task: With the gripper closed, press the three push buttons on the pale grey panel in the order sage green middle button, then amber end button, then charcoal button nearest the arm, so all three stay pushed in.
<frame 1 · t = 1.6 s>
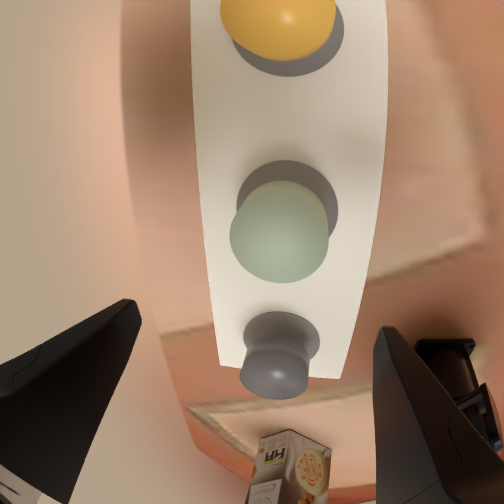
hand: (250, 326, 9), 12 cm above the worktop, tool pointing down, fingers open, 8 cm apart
button sage: (281, 230, 14), point 6 cm above the worktop, slide at 0.0 cm
button charcoal: (276, 367, 19), point 6 cm above the worktop, slide at 0.0 cm
button panel: (291, 193, 19), on the worktop
coffee box: (297, 444, 36), on the worktop
button amber: (280, 13, 9), point 6 cm above the worktop, slide at 0.0 cm
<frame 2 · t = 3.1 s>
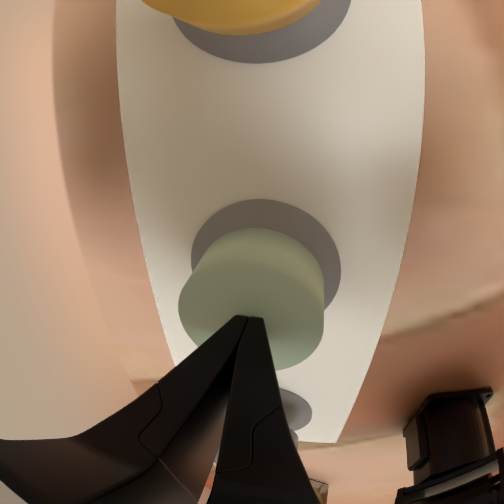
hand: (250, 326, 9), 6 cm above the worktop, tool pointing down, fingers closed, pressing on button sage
button sage: (255, 300, 10), point 5 cm above the worktop, slide at 0.9 cm, touching gripper
button charcoal: (256, 447, 14), point 6 cm above the worktop, slide at 0.0 cm
button panel: (274, 234, 14), on the worktop
coffee box: (291, 479, 31), on the worktop
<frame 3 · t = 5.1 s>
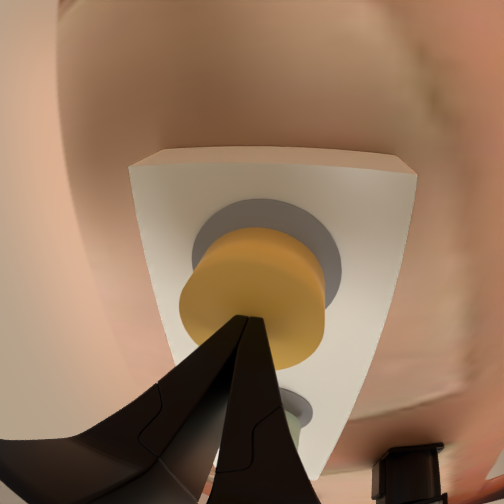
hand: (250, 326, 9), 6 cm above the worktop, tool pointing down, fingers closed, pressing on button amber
button sage: (260, 434, 15), point 5 cm above the worktop, slide at 0.9 cm
button panel: (273, 372, 19), on the worktop
button amber: (256, 300, 10), point 5 cm above the worktop, slide at 0.8 cm, touching gripper
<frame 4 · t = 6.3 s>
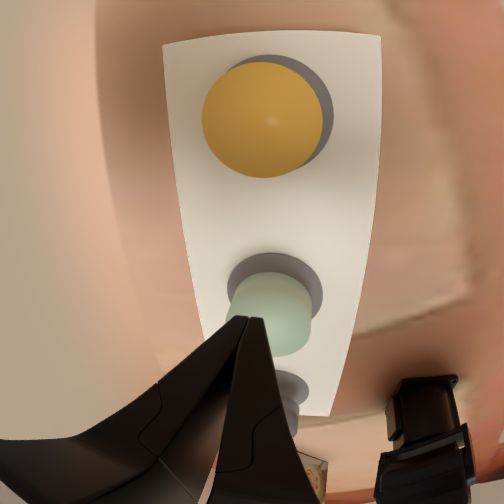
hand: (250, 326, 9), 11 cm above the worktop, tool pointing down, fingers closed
button sage: (270, 314, 16), point 5 cm above the worktop, slide at 0.9 cm
button charcoal: (269, 416, 21), point 6 cm above the worktop, slide at 0.0 cm
button panel: (280, 266, 20), on the worktop
coffee box: (295, 458, 38), on the worktop
button amber: (265, 117, 11), point 5 cm above the worktop, slide at 0.9 cm
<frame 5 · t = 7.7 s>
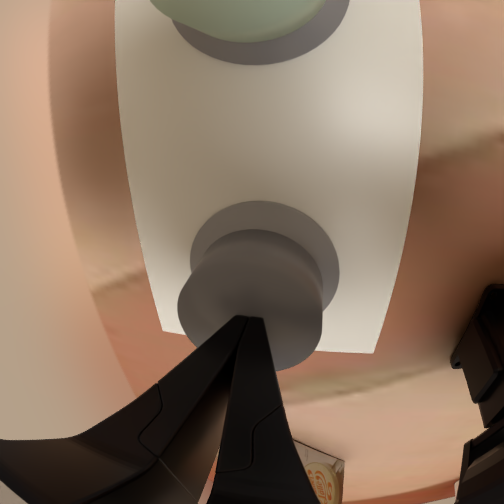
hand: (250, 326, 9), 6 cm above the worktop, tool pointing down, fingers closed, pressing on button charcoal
button charcoal: (254, 301, 10), point 5 cm above the worktop, slide at 0.9 cm, touching gripper
button panel: (269, 9, 9), on the worktop
coffee box: (297, 455, 26), on the worktop
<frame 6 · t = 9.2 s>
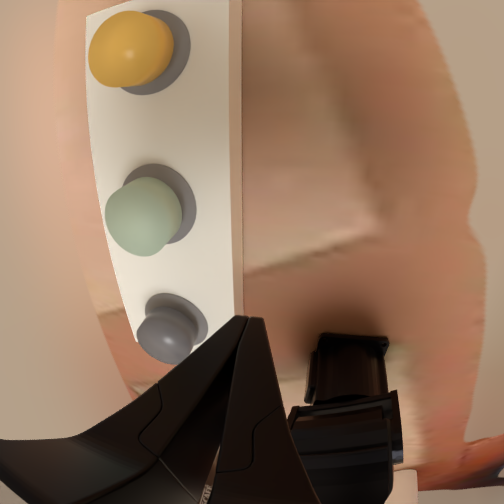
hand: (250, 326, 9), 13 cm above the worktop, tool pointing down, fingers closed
button sage: (144, 215, 18), point 5 cm above the worktop, slide at 0.9 cm
button charcoal: (167, 334, 23), point 5 cm above the worktop, slide at 0.9 cm
button panel: (175, 190, 22), on the worktop
cylindrical container: (399, 474, 41), on the worktop
coffee box: (233, 431, 39), on the worktop
button amber: (131, 49, 13), point 5 cm above the worktop, slide at 0.9 cm
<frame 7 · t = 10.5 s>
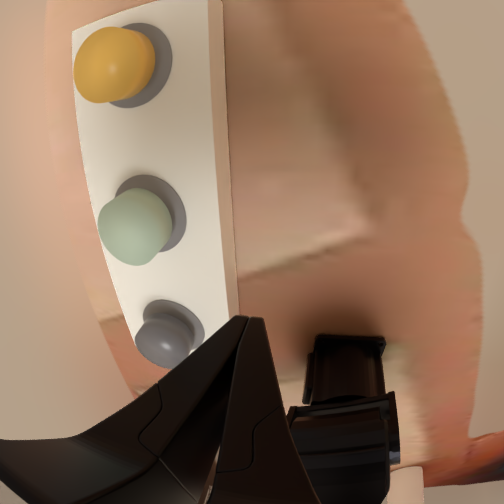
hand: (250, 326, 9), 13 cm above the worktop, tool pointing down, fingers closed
button sage: (135, 225, 18), point 5 cm above the worktop, slide at 0.9 cm
button charcoal: (165, 340, 23), point 5 cm above the worktop, slide at 0.9 cm
button panel: (167, 198, 22), on the worktop
cylindrical container: (405, 471, 41), on the worktop
coffee box: (236, 432, 39), on the worktop
button amber: (114, 64, 13), point 5 cm above the worktop, slide at 0.9 cm
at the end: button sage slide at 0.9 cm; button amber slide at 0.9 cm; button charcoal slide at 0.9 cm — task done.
